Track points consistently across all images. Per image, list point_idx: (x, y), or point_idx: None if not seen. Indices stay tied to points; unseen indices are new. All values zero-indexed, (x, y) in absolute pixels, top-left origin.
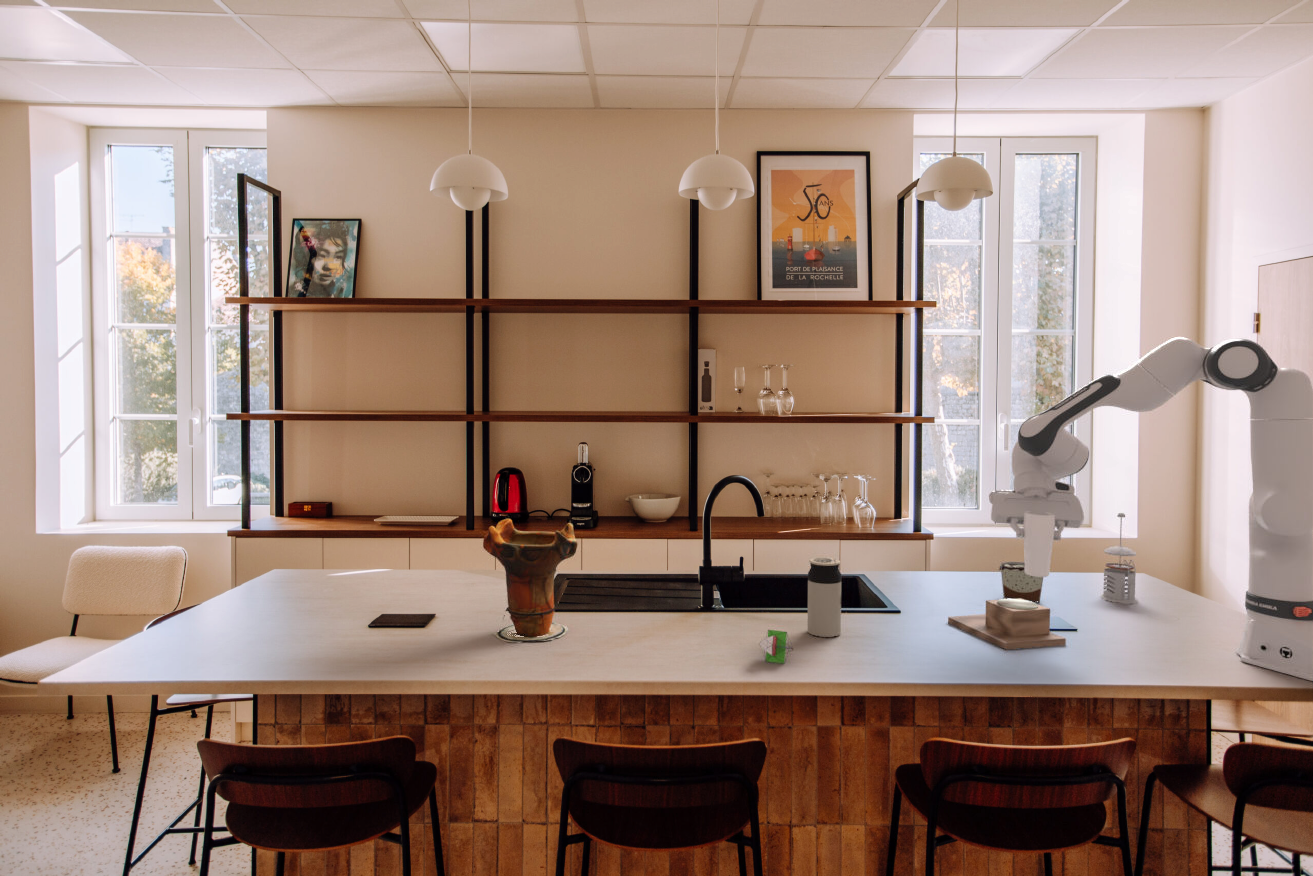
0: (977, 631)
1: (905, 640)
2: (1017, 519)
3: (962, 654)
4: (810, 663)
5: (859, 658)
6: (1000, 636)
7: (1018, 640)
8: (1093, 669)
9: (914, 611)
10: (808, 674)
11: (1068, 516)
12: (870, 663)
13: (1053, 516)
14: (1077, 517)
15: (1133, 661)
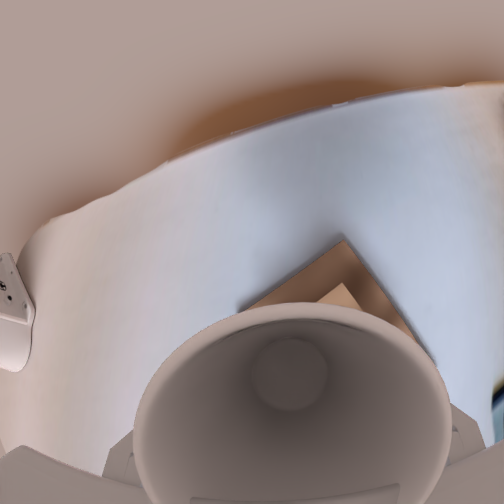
0: (392, 306)
1: (473, 234)
2: (449, 453)
3: (398, 194)
4: (498, 123)
5: (480, 145)
6: (354, 281)
7: (322, 267)
8: (213, 197)
9: (474, 416)
10: (483, 99)
11: (60, 481)
12: (466, 132)
13: (153, 376)
14: (23, 458)
15: (146, 262)
